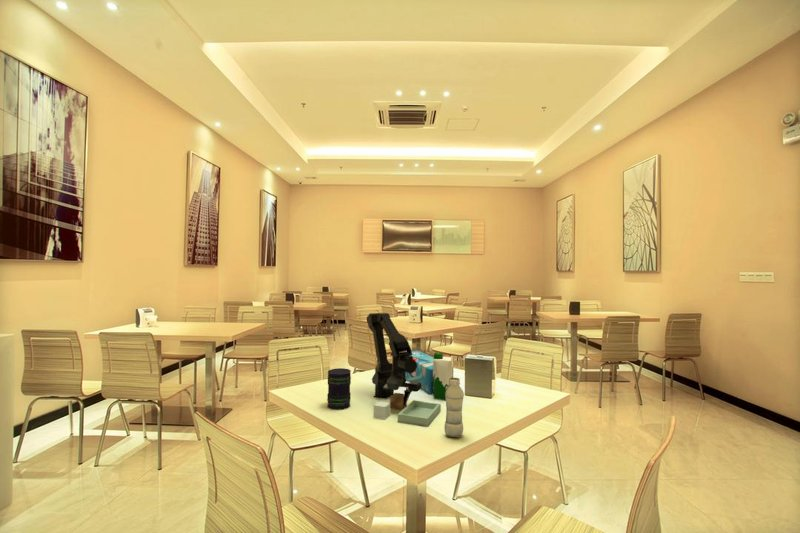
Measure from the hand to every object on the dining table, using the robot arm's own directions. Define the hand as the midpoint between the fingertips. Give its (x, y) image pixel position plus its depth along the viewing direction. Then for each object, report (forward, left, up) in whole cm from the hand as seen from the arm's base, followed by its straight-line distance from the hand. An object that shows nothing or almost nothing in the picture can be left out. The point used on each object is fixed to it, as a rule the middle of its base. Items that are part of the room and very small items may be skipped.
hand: (398, 404), depth 168 cm
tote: (+12, -7, -1) cm, 14 cm away
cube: (-2, -13, -1) cm, 13 cm away
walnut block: (0, 0, -1) cm, 1 cm away
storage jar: (-24, -9, -1) cm, 26 cm away
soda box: (-2, +40, -2) cm, 40 cm away
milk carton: (+14, +20, -1) cm, 24 cm away
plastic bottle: (+29, -20, -1) cm, 35 cm away
